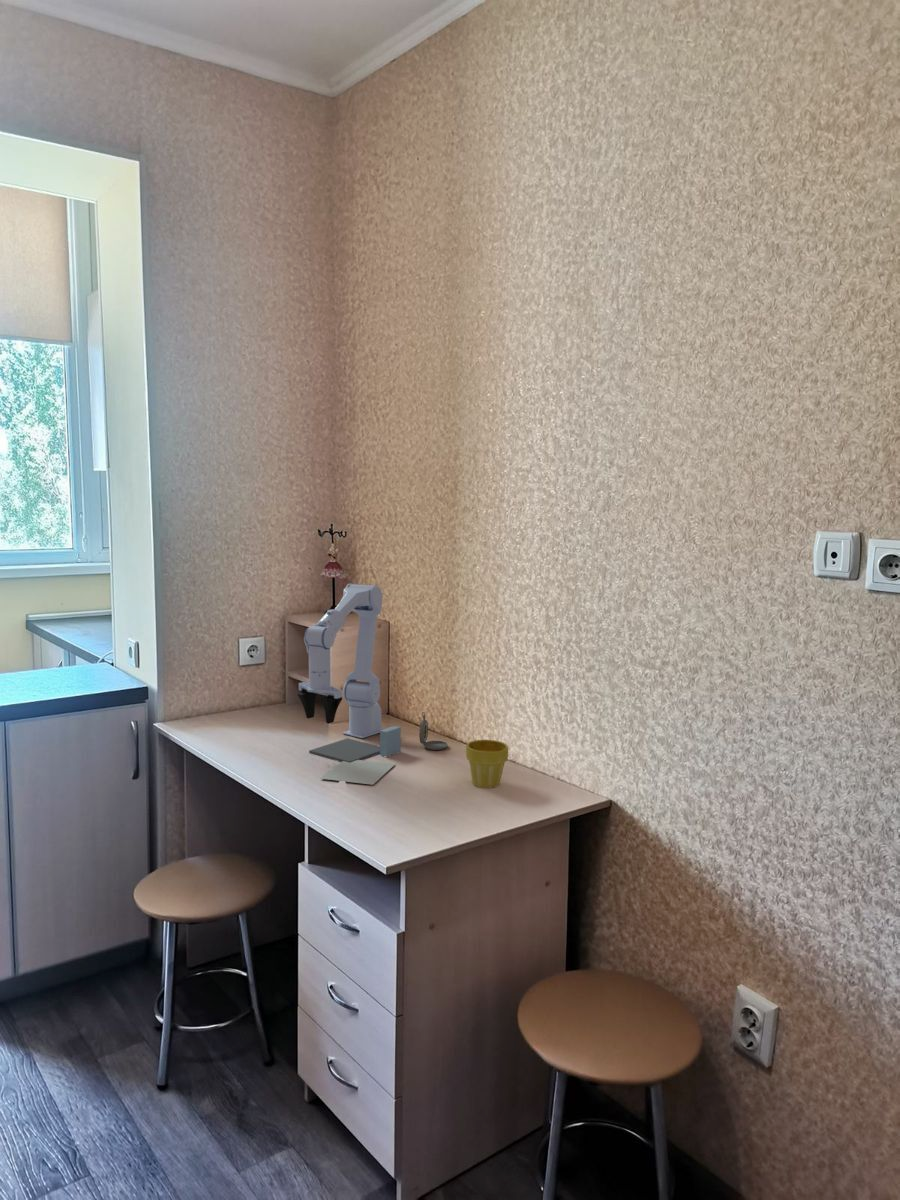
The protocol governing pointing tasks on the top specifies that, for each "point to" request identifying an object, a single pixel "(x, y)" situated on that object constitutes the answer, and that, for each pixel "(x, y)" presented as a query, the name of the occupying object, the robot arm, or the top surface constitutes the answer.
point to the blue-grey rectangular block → (390, 740)
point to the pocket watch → (424, 733)
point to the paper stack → (358, 771)
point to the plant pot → (486, 761)
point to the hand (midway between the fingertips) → (320, 720)
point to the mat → (346, 750)
